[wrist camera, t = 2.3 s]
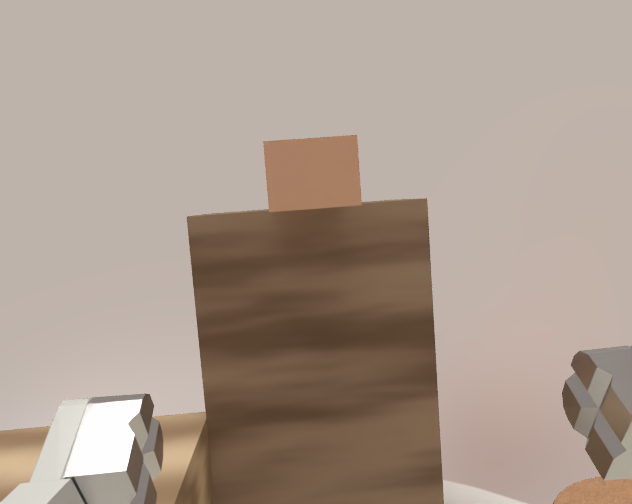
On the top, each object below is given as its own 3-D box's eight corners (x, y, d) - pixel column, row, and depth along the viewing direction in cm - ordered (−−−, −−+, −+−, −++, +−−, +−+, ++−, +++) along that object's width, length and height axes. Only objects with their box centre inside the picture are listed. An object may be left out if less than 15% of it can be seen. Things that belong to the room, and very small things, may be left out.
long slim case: (361, 205, 23) (356, 135, 23) (269, 212, 23) (263, 141, 23) (326, 204, 43) (324, 167, 43) (277, 208, 43) (274, 170, 42)
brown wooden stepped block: (614, 1020, 17) (593, 192, 14) (-323, 1164, 15) (-523, 277, 13) (412, 517, 44) (392, 199, 41) (64, 553, 42) (23, 227, 40)
